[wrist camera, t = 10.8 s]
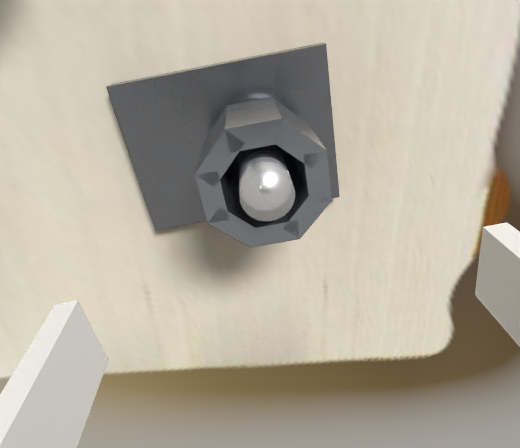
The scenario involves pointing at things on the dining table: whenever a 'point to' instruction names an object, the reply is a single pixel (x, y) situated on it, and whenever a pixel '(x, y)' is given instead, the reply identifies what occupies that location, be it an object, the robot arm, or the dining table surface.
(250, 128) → the tube
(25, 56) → the dining table surface
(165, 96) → the shaft fixture
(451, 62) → the dining table surface
